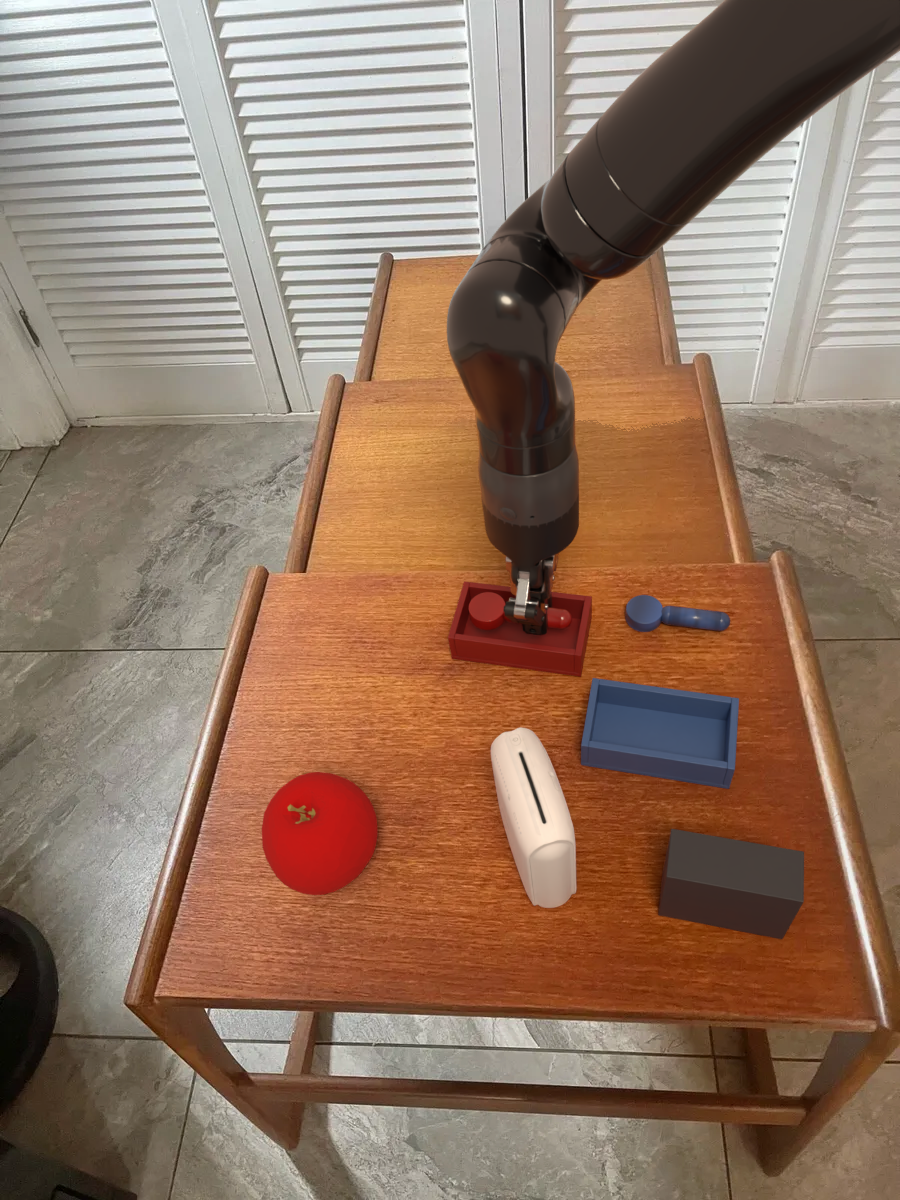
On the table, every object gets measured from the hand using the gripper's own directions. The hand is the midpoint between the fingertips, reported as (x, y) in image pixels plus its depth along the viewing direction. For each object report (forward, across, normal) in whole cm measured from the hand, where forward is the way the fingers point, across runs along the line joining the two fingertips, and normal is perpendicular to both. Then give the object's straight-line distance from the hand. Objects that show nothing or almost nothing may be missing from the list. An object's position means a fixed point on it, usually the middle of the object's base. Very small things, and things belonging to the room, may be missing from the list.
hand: (537, 619), depth 83 cm
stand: (+3, -22, -18) cm, 28 cm away
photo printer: (+4, -20, -3) cm, 21 cm away
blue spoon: (+3, +4, -12) cm, 13 cm away
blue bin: (+3, -9, -12) cm, 15 cm away
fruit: (+4, -24, +13) cm, 27 cm away
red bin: (+3, 0, +2) cm, 4 cm away
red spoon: (0, 0, +2) cm, 2 cm away
